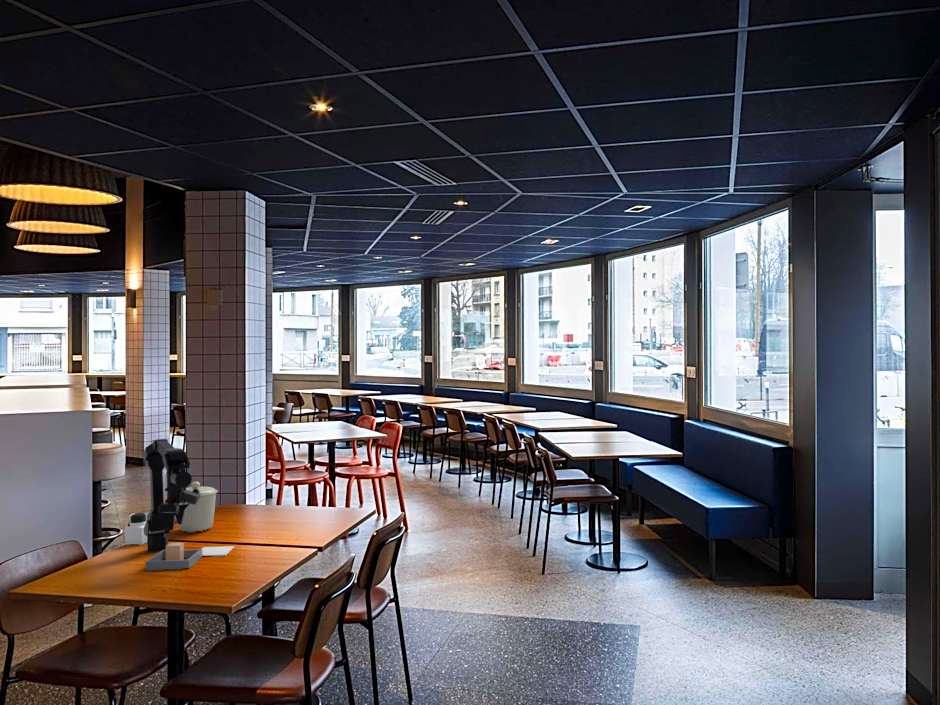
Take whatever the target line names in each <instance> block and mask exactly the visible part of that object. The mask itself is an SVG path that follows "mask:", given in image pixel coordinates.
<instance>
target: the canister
mask: <svg viewBox="0 0 940 705" xmlns="http://www.w3.org/2000/svg"><path fill="white" fill-rule="evenodd" d="M190 486H191V487H189V486H188V487H186V490H188V491H190V490H191V491H193V490H194V489H199V492H200V494H201V495H200V496H201V497H200V498H199V501H198V503H196V504H195V505H193V504H191V503H188V502H187V504H190V505H189V506H188V507H187V508H186V509H185V513H184V517H183V521H182V524H178V527H179V529H180V530H181V532H184V531H187V532H186V533H195V532H194V531H201V532H204V531H203V530H205V531H207V529H208V530H210V529H211V528H212V526H213V525H214V519H215V518H214V517H215V512H216V511H215V510H216V500H217V497H216V496H217V493H218V489H215V488H214V487H211V486H201V483H200V482H199V481H193V482H191V483H190ZM209 528H210V529H209Z"/></svg>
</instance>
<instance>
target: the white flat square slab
mask: <svg viewBox="0 0 940 705" xmlns="http://www.w3.org/2000/svg"><path fill="white" fill-rule="evenodd" d="M233 548H234V549H235V545H232V546H231V545H229V546H224V545H223V546H202V548H201V549H202V556H212V557H226V556H227V554H228V553H229V552H230V551H231V550H232V549H233ZM234 549H233V550H234ZM233 550H232V551H233ZM232 551H231V552H232ZM231 552H230V553H231ZM230 553H229V554H230Z"/></svg>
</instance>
